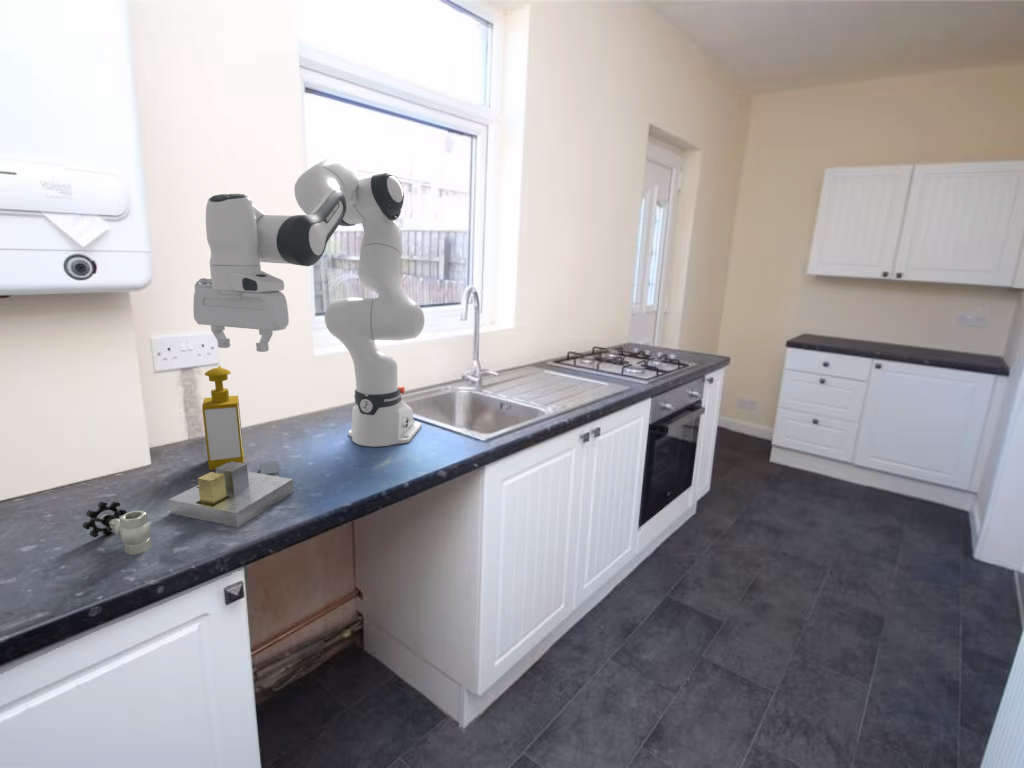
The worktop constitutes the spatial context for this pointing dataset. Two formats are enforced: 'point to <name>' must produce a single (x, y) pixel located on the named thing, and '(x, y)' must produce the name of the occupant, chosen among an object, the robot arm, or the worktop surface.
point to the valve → (122, 527)
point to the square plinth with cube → (234, 496)
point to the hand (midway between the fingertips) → (243, 349)
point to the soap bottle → (222, 423)
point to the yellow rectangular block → (212, 489)
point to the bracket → (269, 468)
